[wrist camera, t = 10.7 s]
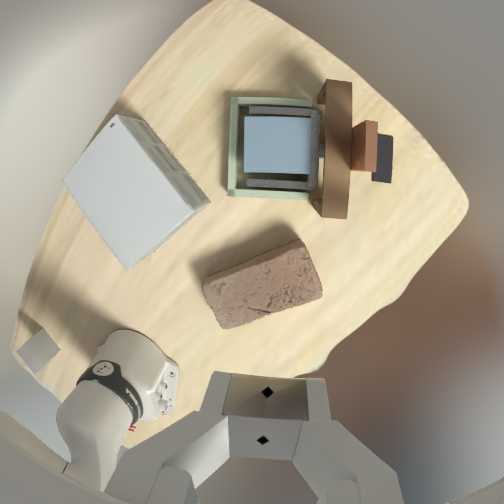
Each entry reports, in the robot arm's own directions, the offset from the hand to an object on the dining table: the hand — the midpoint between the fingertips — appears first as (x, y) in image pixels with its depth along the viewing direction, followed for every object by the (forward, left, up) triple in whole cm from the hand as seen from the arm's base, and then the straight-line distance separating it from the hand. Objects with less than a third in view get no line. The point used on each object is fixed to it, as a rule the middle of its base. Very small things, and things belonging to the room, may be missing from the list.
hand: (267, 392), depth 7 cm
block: (+9, +1, -35) cm, 36 cm away
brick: (-11, +2, -36) cm, 37 cm away
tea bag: (-32, +52, -35) cm, 71 cm away
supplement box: (+3, +20, -36) cm, 41 cm away
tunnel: (+9, -6, -35) cm, 37 cm away
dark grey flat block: (+9, -15, -35) cm, 39 cm away
